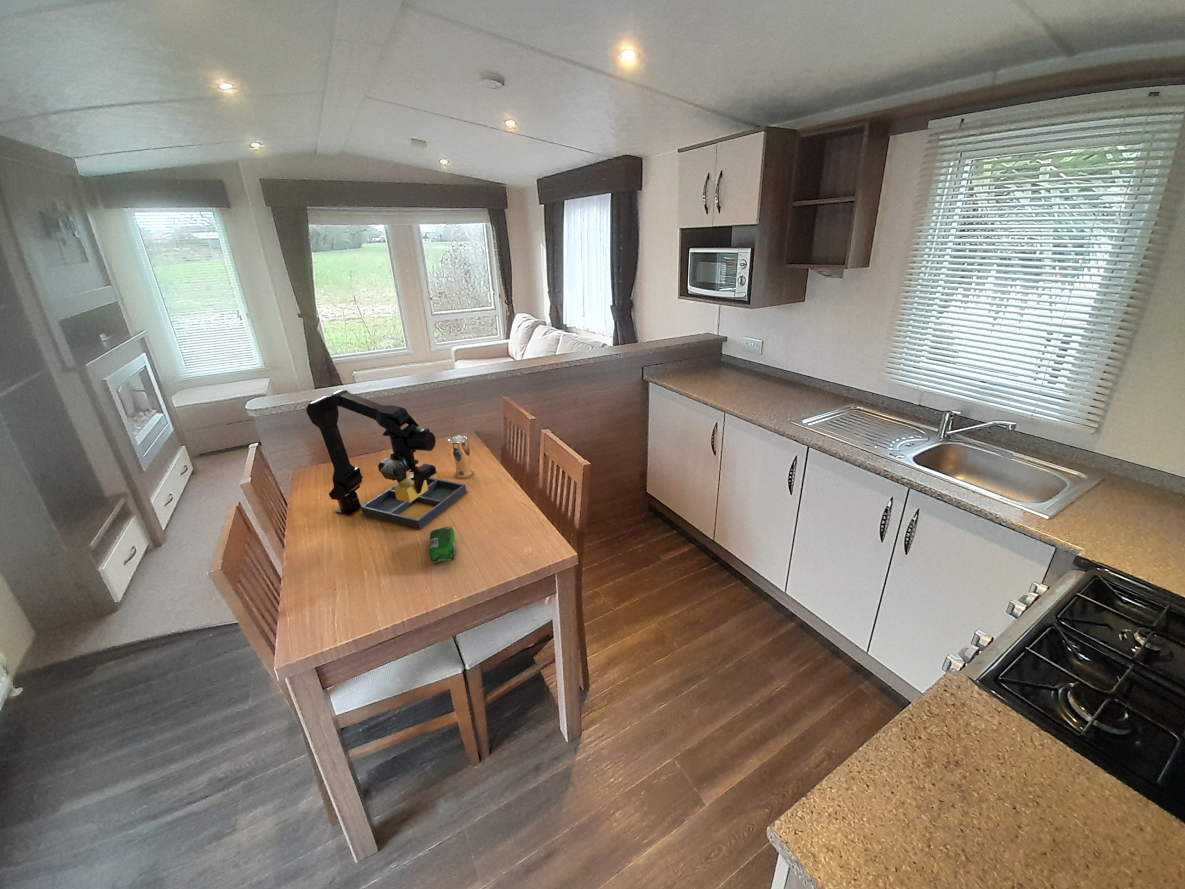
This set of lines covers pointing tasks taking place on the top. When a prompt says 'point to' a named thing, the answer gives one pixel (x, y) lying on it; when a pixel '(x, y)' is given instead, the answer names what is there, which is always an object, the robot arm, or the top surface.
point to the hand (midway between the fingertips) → (412, 491)
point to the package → (408, 490)
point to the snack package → (442, 544)
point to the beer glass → (461, 456)
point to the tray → (415, 504)
